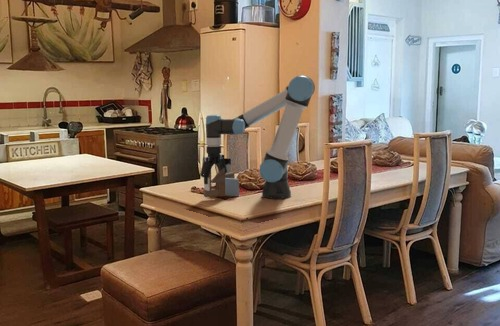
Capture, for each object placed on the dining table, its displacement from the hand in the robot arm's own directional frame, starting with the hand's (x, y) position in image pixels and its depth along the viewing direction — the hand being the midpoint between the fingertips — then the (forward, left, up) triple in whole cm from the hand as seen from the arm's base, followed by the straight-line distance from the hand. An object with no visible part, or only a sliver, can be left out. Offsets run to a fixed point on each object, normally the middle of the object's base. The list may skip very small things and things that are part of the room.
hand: (214, 188), depth 268 cm
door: (+1, -12, -6) cm, 13 cm away
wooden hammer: (0, 0, -4) cm, 4 cm away
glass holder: (+24, -36, -6) cm, 44 cm away
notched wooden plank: (+7, -18, -6) cm, 20 cm away
